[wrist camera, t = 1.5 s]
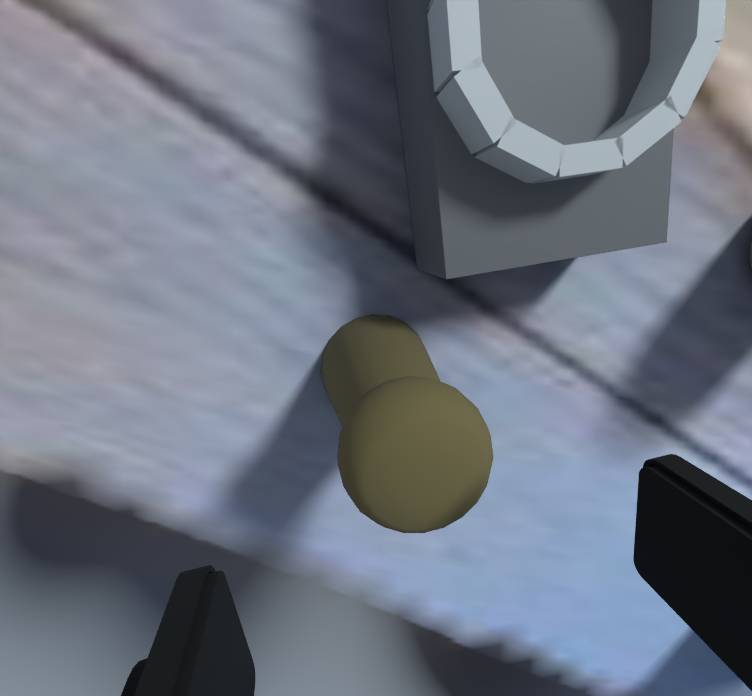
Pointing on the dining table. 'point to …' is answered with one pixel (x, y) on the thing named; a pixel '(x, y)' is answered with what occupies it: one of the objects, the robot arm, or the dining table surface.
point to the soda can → (751, 254)
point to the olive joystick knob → (402, 428)
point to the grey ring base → (543, 123)
